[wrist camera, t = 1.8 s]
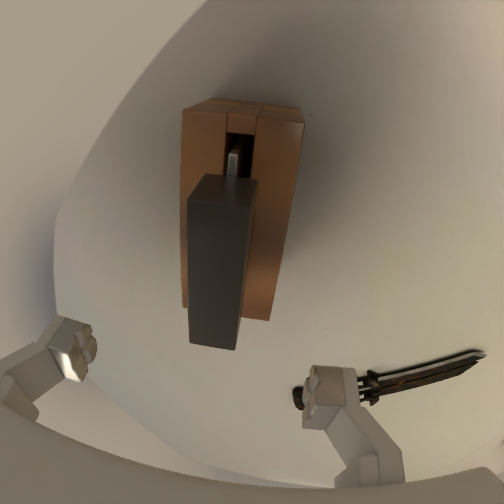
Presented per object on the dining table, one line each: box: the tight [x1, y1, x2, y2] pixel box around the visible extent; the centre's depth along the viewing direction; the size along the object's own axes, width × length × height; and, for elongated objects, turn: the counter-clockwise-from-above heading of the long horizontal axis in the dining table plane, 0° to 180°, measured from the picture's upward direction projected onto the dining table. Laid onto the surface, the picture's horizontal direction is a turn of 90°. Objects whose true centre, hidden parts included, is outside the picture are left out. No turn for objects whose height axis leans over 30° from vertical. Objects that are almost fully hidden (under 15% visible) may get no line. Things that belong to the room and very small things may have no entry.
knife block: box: [180, 98, 305, 321], centre depth 20 cm, size 13×6×6 cm, turn 174°
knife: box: [292, 352, 486, 410], centre depth 33 cm, size 25×6×1 cm, turn 103°
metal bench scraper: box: [186, 134, 258, 350], centre depth 18 cm, size 10×2×10 cm, turn 174°
